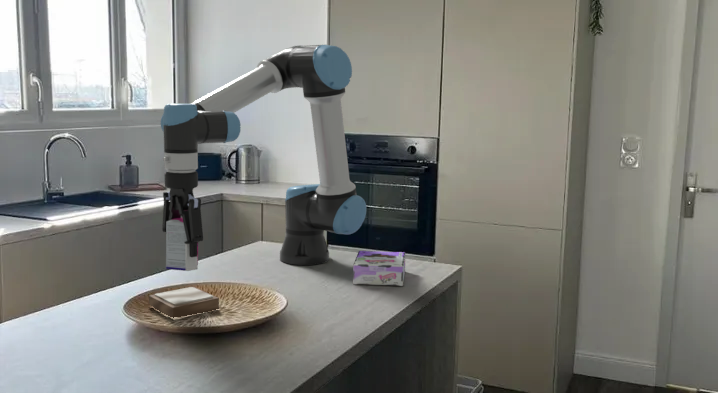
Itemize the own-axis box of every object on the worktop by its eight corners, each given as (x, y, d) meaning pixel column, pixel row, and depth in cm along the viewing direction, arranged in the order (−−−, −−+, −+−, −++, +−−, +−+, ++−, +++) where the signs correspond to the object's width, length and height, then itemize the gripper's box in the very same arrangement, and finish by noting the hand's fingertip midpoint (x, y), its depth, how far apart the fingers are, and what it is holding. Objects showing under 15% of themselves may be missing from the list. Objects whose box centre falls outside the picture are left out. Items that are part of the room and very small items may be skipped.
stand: (148, 307, 172) (148, 293, 171) (193, 298, 180) (193, 285, 179) (173, 320, 163) (172, 306, 162) (219, 310, 171) (218, 296, 170)
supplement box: (189, 271, 166) (188, 222, 164) (165, 269, 167) (164, 221, 166) (199, 265, 172) (198, 218, 170) (176, 263, 173) (175, 216, 171)
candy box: (405, 251, 208) (404, 265, 192) (405, 271, 209) (403, 287, 193) (358, 249, 209) (352, 263, 193) (358, 269, 210) (352, 285, 194)
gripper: (145, 167, 171) (148, 260, 175) (188, 176, 156) (190, 278, 160) (174, 165, 176) (176, 255, 180) (218, 174, 161) (219, 272, 165)
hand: (182, 266), depth 170 cm, fingers closed on supplement box, 8 cm apart
